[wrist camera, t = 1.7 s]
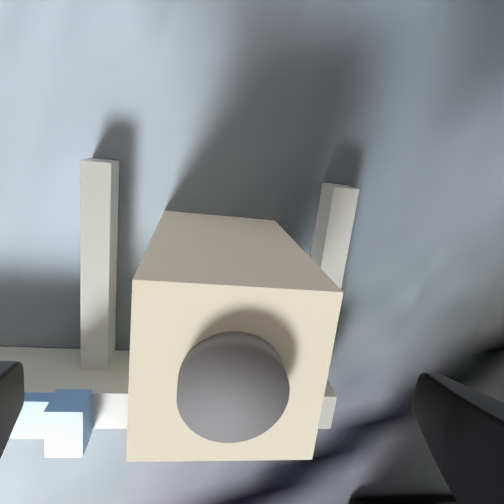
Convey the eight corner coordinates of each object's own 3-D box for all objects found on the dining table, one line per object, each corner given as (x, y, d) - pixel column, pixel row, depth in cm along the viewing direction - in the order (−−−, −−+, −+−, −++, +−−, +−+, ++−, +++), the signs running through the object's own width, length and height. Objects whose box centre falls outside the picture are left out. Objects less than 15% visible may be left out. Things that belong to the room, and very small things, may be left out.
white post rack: (345, 184, 16) (393, 199, 12) (309, 387, 19) (340, 454, 15) (-190, 127, 13) (-359, 123, 9) (-146, 378, 16) (-264, 460, 12)
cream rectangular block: (274, 220, 16) (354, 303, 8) (261, 319, 17) (319, 479, 9) (164, 210, 15) (127, 290, 7) (158, 314, 17) (120, 483, 8)
